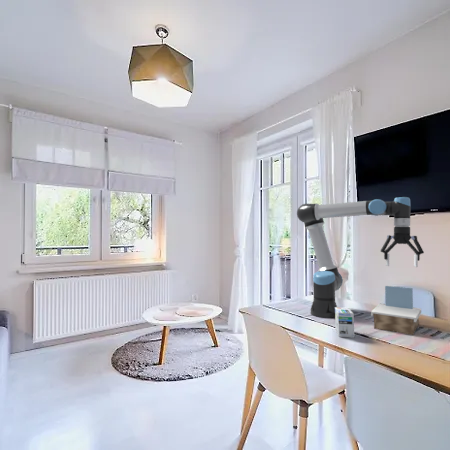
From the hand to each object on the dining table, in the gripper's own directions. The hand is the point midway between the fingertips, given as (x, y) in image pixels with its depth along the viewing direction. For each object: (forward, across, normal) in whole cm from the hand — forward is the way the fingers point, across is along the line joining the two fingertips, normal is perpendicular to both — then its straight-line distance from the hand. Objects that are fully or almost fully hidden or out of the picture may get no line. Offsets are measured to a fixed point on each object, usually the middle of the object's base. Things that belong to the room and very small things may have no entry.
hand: (401, 266), depth 164 cm
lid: (+22, -7, -16) cm, 28 cm away
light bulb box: (+28, -33, -32) cm, 54 cm away
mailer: (+28, -7, -16) cm, 32 cm away
